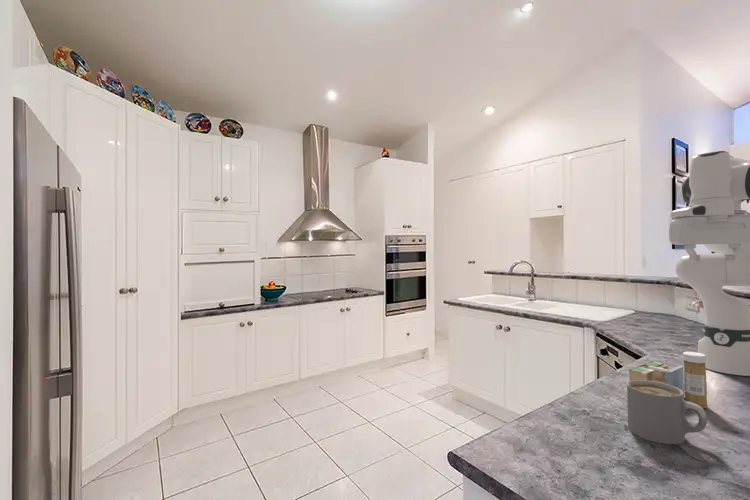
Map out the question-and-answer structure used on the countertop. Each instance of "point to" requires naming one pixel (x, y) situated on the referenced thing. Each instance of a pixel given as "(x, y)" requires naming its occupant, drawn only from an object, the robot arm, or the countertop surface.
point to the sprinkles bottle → (695, 378)
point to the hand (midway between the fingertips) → (712, 261)
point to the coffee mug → (660, 412)
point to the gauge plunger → (673, 376)
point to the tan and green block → (649, 372)
